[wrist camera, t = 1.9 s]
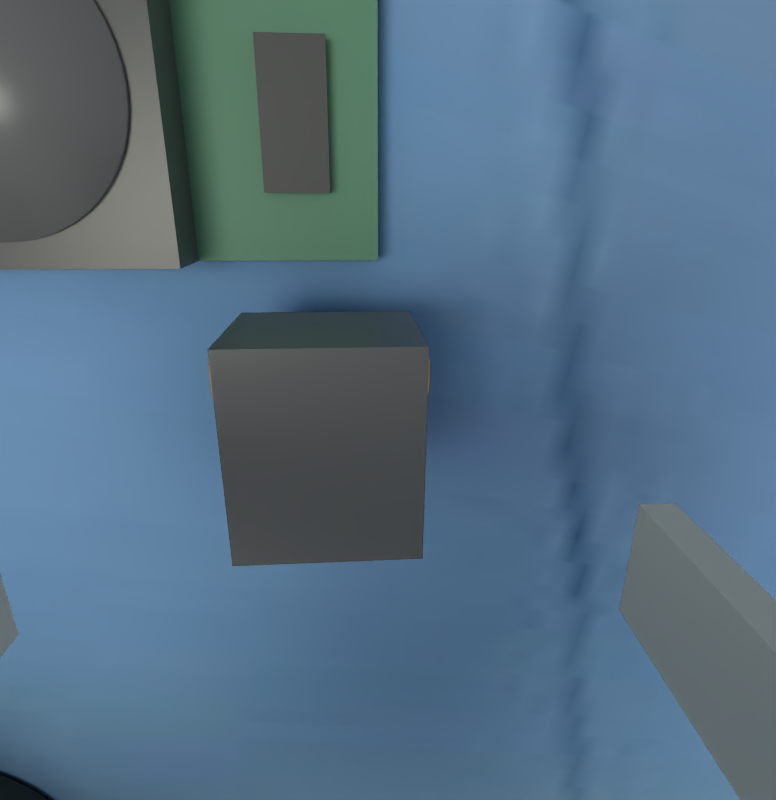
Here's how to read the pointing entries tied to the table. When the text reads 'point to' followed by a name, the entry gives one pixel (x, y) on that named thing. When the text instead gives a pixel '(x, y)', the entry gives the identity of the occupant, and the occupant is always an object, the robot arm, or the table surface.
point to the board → (280, 126)
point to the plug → (322, 435)
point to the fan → (92, 138)
